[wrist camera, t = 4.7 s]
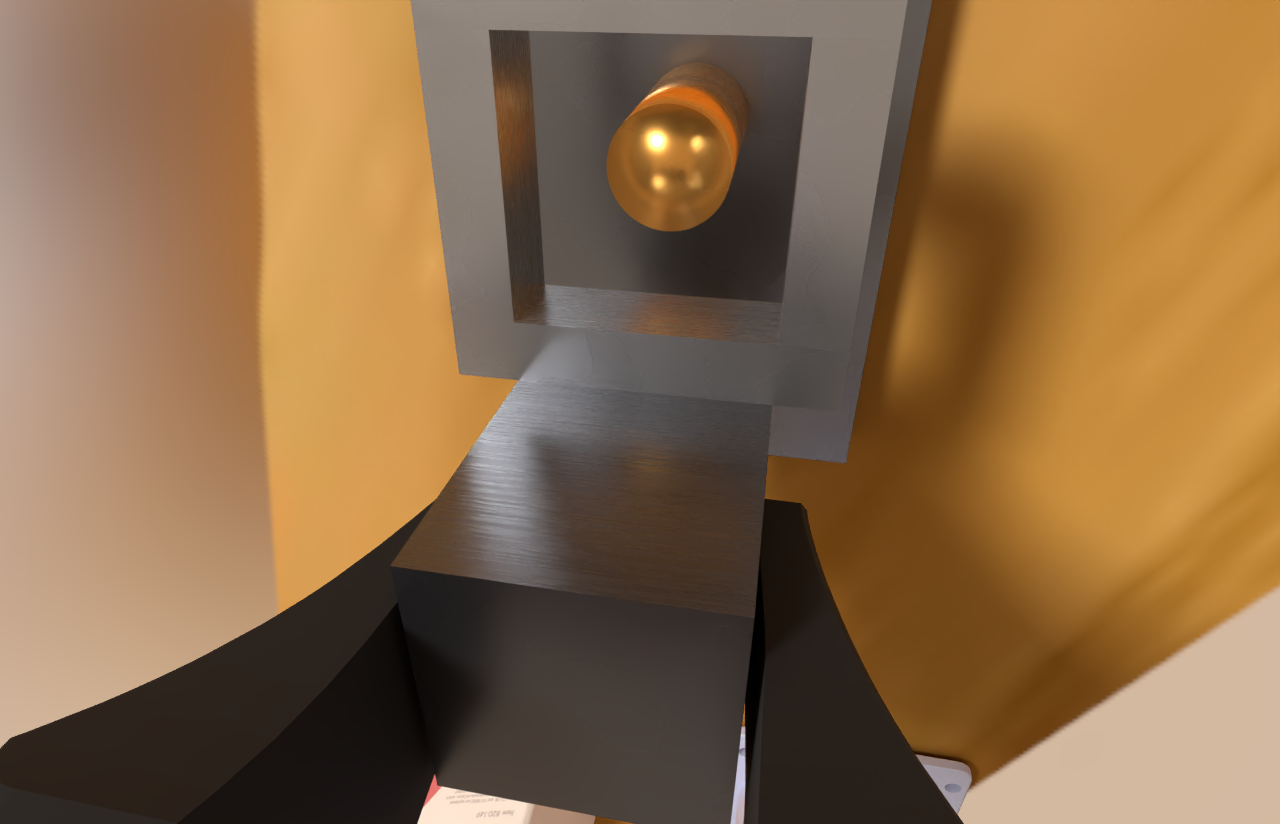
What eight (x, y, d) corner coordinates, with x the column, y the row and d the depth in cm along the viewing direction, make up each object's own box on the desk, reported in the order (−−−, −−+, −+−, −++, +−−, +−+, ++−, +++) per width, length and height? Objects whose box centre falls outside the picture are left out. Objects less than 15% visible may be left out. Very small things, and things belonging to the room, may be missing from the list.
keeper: (844, 439, 20) (850, 565, 16) (545, 408, 21) (487, 517, 17) (935, -65, 13) (981, -50, 10) (502, -67, 15) (397, -53, 11)
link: (807, 547, 15) (807, 856, 10) (511, 509, 16) (369, 772, 11) (903, -61, 10) (1007, -84, 5) (454, -62, 11) (125, -83, 5)
